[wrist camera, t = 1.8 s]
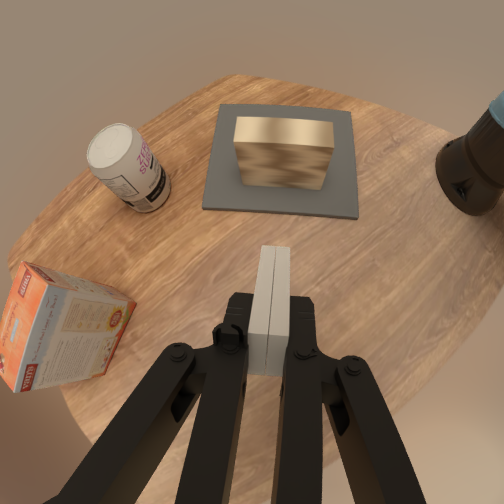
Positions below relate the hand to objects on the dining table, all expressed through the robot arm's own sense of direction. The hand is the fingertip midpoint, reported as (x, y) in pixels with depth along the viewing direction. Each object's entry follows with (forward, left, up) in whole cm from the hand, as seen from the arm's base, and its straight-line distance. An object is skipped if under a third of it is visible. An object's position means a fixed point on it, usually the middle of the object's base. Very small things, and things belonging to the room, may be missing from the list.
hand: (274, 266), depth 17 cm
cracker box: (+26, +8, -26) cm, 38 cm away
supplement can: (+22, -16, -26) cm, 38 cm away
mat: (0, -24, -26) cm, 35 cm away
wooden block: (0, -19, -25) cm, 31 cm away
